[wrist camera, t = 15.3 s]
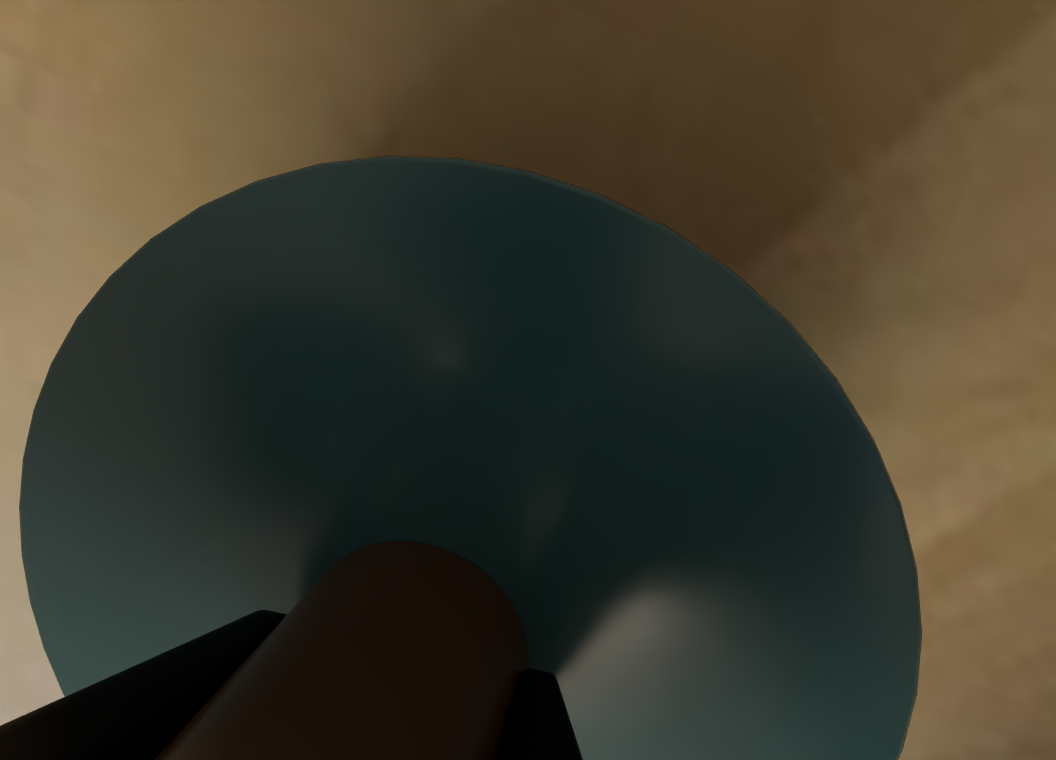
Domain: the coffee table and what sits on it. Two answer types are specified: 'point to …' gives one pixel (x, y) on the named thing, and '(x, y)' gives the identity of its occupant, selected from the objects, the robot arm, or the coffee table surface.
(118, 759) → the robot arm
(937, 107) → the coffee table surface
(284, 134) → the coffee table surface
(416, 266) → the tin lid
